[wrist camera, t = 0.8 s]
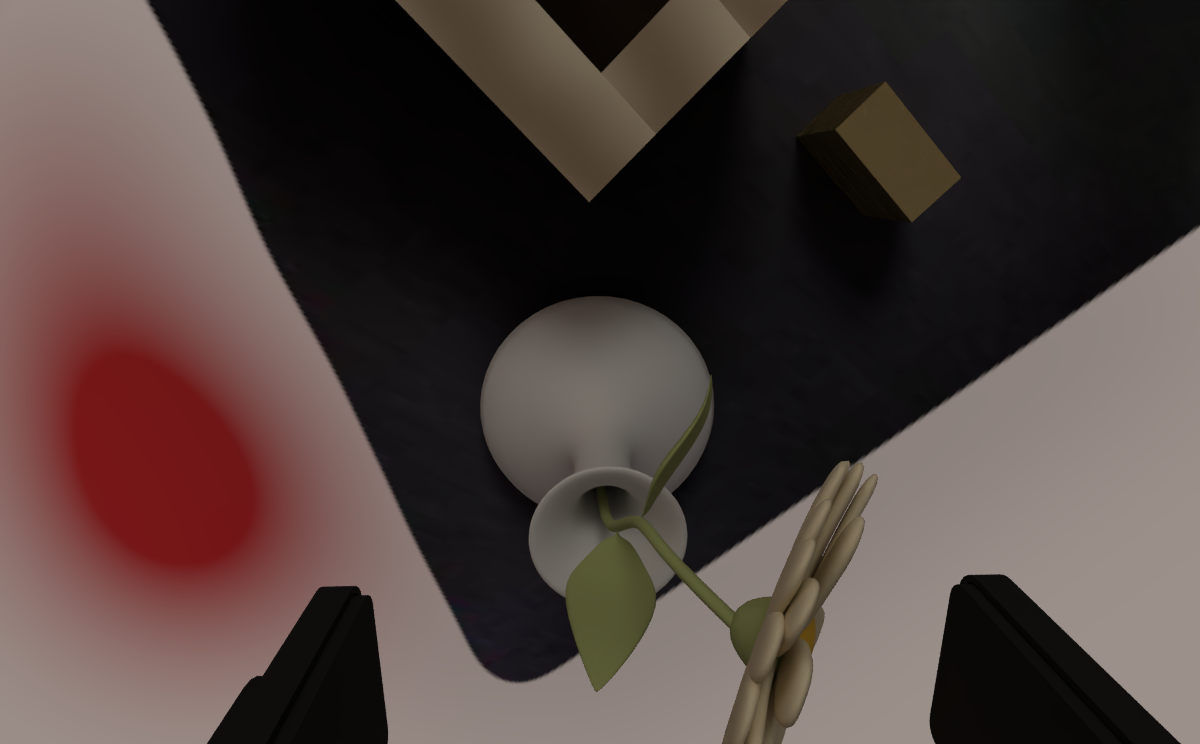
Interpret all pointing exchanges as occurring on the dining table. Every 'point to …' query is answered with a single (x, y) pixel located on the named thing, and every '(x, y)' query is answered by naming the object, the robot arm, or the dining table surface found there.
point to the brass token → (878, 154)
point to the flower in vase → (647, 496)
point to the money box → (590, 67)
